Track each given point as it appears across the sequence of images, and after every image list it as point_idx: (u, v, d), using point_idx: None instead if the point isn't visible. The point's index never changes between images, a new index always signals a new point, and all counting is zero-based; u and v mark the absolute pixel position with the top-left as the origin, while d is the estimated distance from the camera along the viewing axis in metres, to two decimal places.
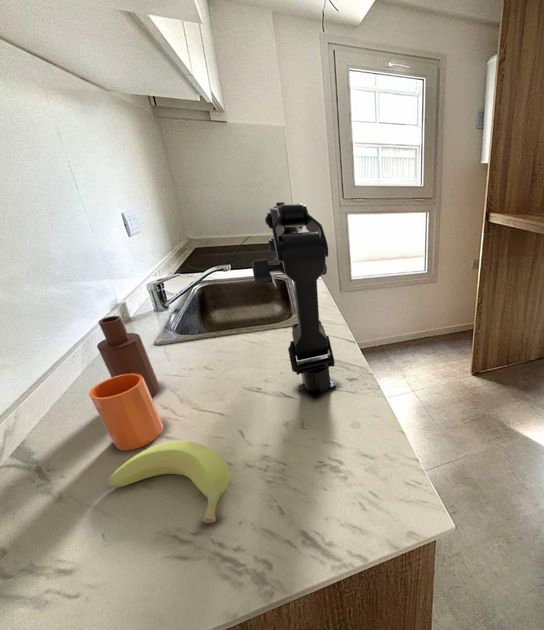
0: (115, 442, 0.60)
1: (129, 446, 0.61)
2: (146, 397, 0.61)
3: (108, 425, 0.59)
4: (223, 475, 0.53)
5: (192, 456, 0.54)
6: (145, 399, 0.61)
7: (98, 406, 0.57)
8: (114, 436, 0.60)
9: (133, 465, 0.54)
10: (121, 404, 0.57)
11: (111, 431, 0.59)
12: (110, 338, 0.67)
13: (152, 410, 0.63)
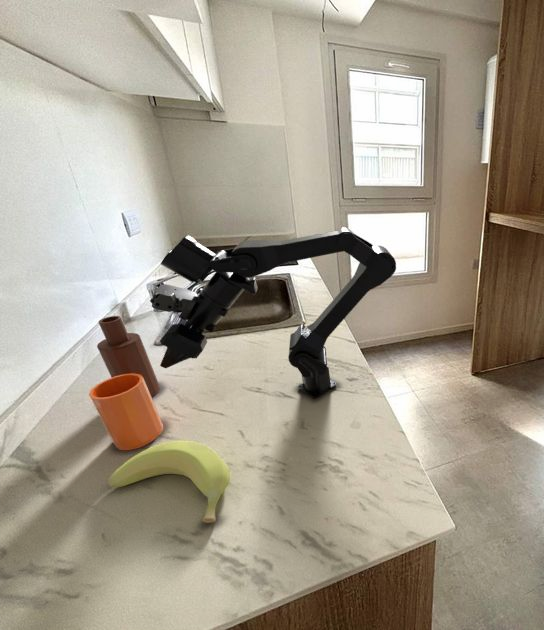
0: (115, 442, 0.60)
1: (129, 446, 0.61)
2: (146, 397, 0.61)
3: (108, 425, 0.59)
4: (223, 475, 0.53)
5: (192, 456, 0.54)
6: (145, 399, 0.61)
7: (98, 406, 0.57)
8: (114, 436, 0.60)
9: (133, 465, 0.54)
10: (121, 404, 0.57)
11: (111, 431, 0.59)
12: (110, 338, 0.67)
13: (152, 410, 0.63)
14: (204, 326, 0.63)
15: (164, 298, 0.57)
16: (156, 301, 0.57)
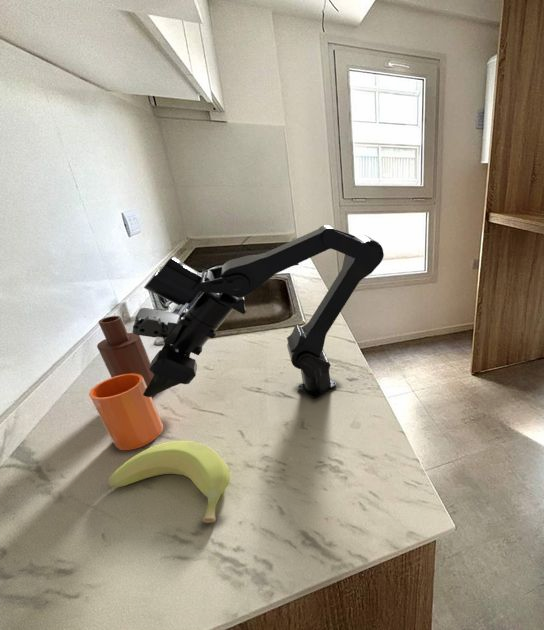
0: (115, 442, 0.60)
1: (129, 446, 0.61)
2: (146, 397, 0.61)
3: (108, 425, 0.59)
4: (223, 475, 0.53)
5: (192, 456, 0.54)
6: (145, 399, 0.61)
7: (98, 406, 0.57)
8: (114, 436, 0.60)
9: (133, 465, 0.54)
10: (121, 404, 0.57)
11: (111, 431, 0.59)
12: (110, 338, 0.67)
13: (152, 410, 0.63)
14: (191, 349, 0.60)
15: (150, 323, 0.54)
16: (141, 327, 0.54)
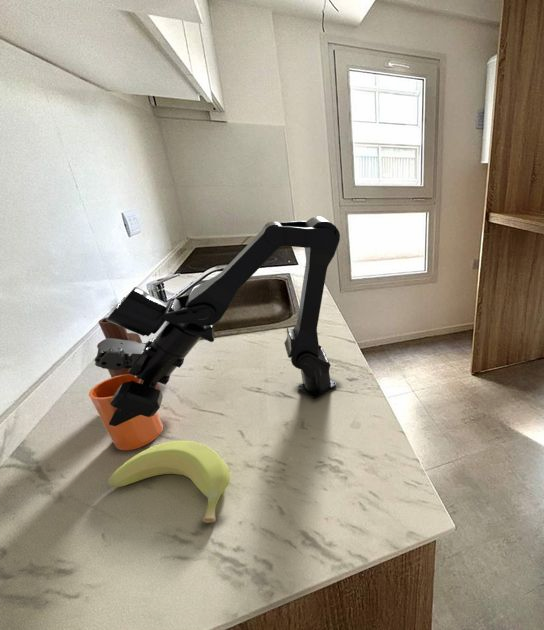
0: (115, 442, 0.60)
1: (129, 446, 0.61)
2: None
3: (108, 425, 0.59)
4: (223, 475, 0.53)
5: (192, 456, 0.54)
6: None
7: (98, 406, 0.57)
8: (114, 436, 0.60)
9: (133, 465, 0.54)
10: None
11: (111, 431, 0.59)
12: None
13: None
14: (157, 379, 0.60)
15: (112, 356, 0.54)
16: (102, 360, 0.53)
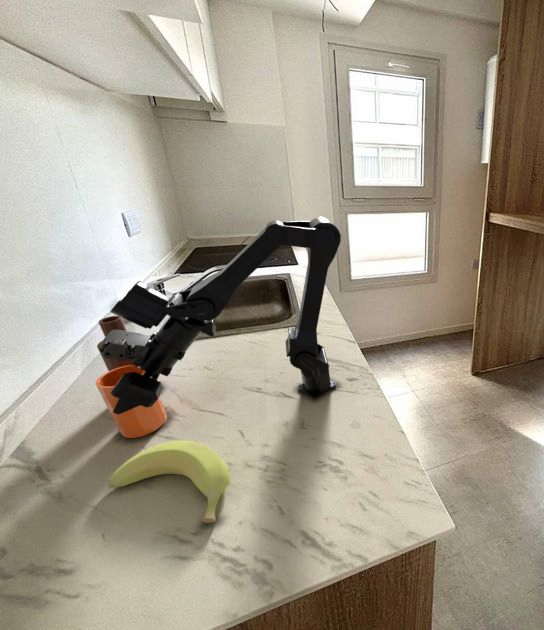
0: (120, 429, 0.63)
1: (132, 434, 0.63)
2: None
3: (113, 413, 0.61)
4: (223, 475, 0.53)
5: (192, 456, 0.54)
6: None
7: (103, 394, 0.59)
8: (119, 424, 0.62)
9: (134, 465, 0.54)
10: None
11: (116, 419, 0.62)
12: None
13: None
14: (159, 371, 0.61)
15: (115, 347, 0.56)
16: (106, 351, 0.55)
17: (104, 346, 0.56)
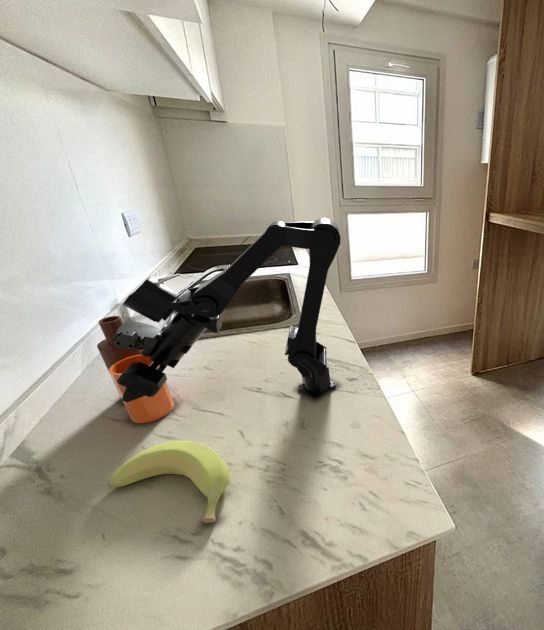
0: (129, 414, 0.67)
1: (140, 420, 0.67)
2: None
3: None
4: (223, 475, 0.53)
5: (192, 455, 0.54)
6: None
7: (114, 380, 0.63)
8: (128, 409, 0.66)
9: (134, 465, 0.54)
10: None
11: (125, 404, 0.66)
12: (110, 338, 0.67)
13: (162, 390, 0.68)
14: (166, 362, 0.65)
15: (125, 338, 0.59)
16: (117, 340, 0.59)
17: (116, 336, 0.60)
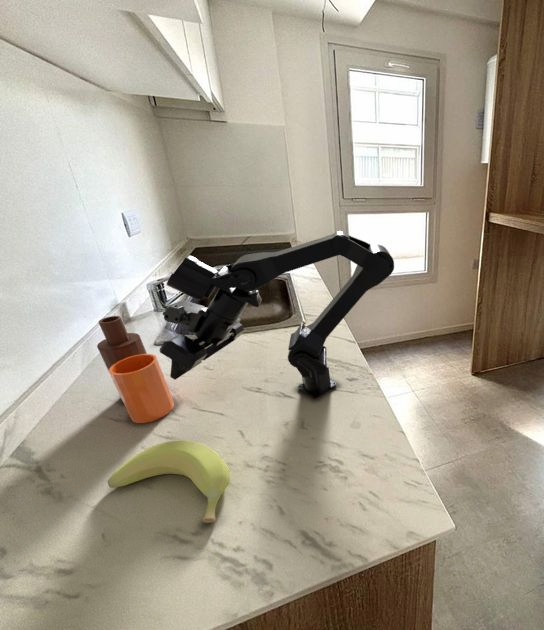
0: (129, 414, 0.67)
1: (140, 420, 0.67)
2: (157, 377, 0.67)
3: (123, 398, 0.65)
4: (223, 475, 0.53)
5: (192, 455, 0.54)
6: (156, 379, 0.67)
7: (114, 380, 0.63)
8: (128, 409, 0.66)
9: (134, 465, 0.54)
10: (132, 381, 0.63)
11: (125, 404, 0.66)
12: (110, 338, 0.67)
13: (162, 390, 0.68)
14: (209, 339, 0.65)
15: (171, 310, 0.61)
16: (165, 313, 0.61)
17: None
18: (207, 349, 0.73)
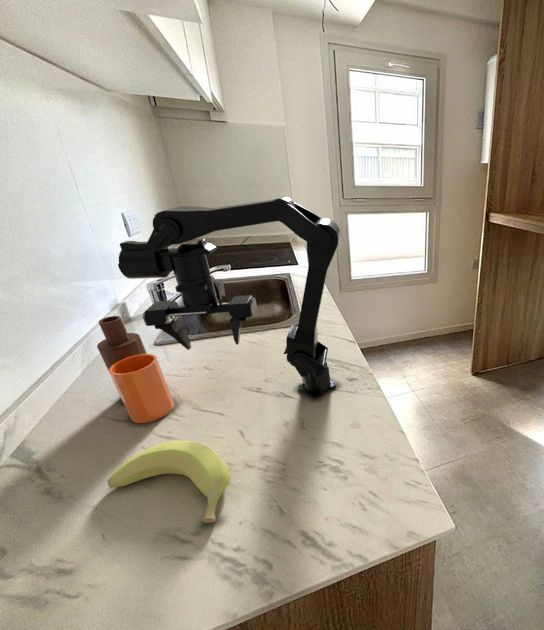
0: (129, 414, 0.67)
1: (140, 420, 0.67)
2: (157, 377, 0.67)
3: (123, 398, 0.65)
4: (223, 475, 0.53)
5: (192, 455, 0.54)
6: (156, 379, 0.67)
7: (114, 380, 0.63)
8: (128, 409, 0.66)
9: (134, 465, 0.54)
10: (132, 381, 0.63)
11: (125, 404, 0.66)
12: (110, 338, 0.67)
13: (162, 390, 0.68)
14: None
15: None
16: None
17: None
18: None
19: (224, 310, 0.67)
